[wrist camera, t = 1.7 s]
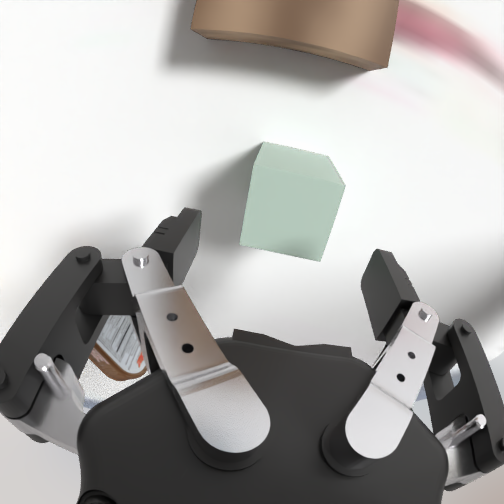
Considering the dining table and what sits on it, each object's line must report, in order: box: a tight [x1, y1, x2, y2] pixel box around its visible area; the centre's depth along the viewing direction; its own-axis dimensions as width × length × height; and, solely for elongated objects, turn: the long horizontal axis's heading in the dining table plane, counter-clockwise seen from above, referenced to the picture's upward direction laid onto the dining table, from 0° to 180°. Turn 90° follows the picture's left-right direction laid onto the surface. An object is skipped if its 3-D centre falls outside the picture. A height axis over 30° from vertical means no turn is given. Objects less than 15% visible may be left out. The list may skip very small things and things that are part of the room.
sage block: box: [239, 142, 346, 262], centre depth 19 cm, size 5×5×7 cm
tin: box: [89, 315, 147, 381], centre depth 28 cm, size 15×3×8 cm, turn 24°
